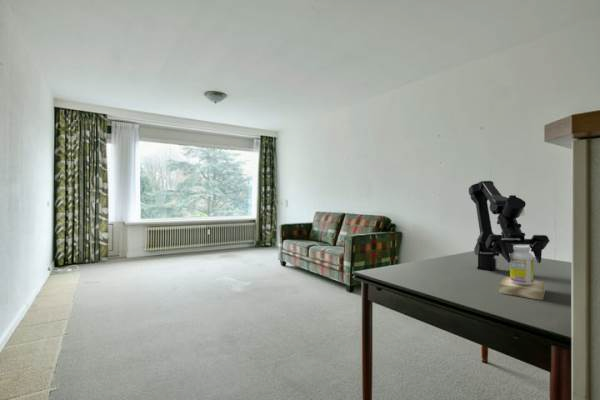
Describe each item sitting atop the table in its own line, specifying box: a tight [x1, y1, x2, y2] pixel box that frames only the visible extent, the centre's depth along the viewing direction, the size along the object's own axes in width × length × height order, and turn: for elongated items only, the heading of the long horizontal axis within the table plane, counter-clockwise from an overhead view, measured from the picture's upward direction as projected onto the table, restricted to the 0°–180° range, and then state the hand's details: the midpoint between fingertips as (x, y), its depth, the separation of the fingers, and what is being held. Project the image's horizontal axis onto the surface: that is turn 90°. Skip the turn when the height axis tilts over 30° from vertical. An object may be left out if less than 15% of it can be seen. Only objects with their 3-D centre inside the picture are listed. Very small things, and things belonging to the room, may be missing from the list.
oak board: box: [498, 276, 547, 301], centre depth 110 cm, size 12×12×3 cm
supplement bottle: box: [509, 245, 534, 285], centre depth 110 cm, size 7×7×13 cm
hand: (524, 262), depth 108 cm, fingers open, 9 cm apart
